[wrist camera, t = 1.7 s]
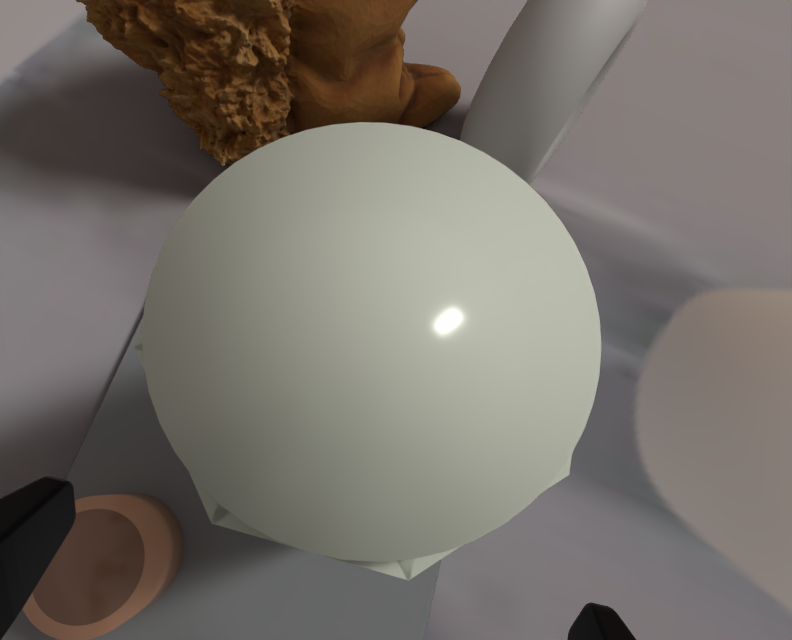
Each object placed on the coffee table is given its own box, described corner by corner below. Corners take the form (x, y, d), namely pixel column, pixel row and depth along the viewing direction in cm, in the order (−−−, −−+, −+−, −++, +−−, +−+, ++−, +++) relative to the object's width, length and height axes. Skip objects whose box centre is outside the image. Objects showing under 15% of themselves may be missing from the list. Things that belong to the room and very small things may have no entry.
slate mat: (384, 805, 16) (385, 813, 16) (-28, 688, 16) (-37, 694, 16) (489, 332, 22) (492, 329, 21) (183, 241, 21) (180, 237, 21)
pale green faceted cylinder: (425, 535, 18) (571, 637, 7) (234, 480, 18) (38, 484, 7) (468, 352, 21) (632, 185, 9) (299, 302, 21) (242, 68, 9)
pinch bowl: (154, 632, 17) (122, 658, 14) (40, 599, 17) (-11, 620, 14) (201, 510, 18) (178, 515, 16) (95, 480, 18) (56, 480, 15)
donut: (526, 82, 26) (629, -142, 17) (581, 116, 26) (718, -92, 16) (422, 211, 23) (477, 27, 14) (483, 252, 23) (582, 93, 13)
